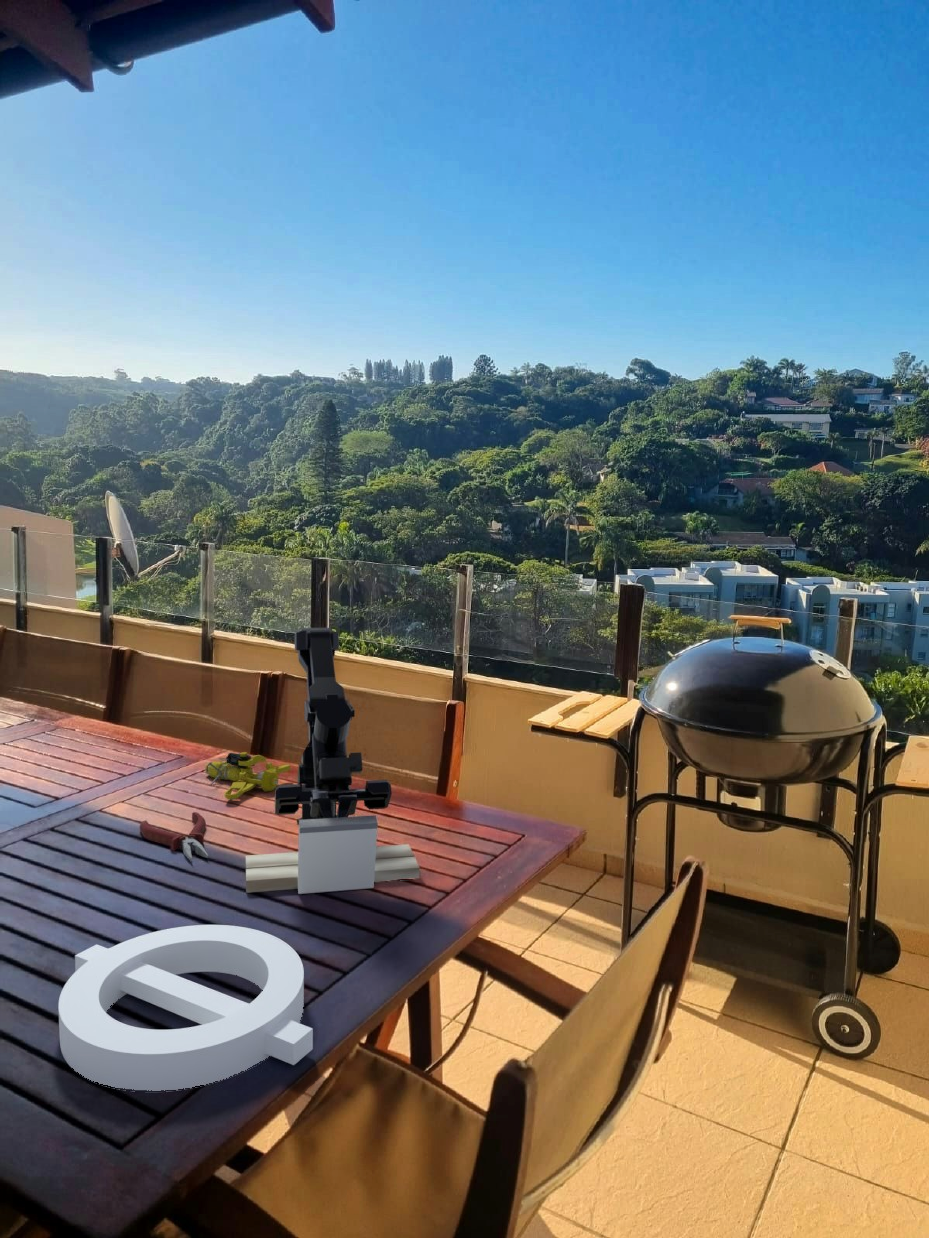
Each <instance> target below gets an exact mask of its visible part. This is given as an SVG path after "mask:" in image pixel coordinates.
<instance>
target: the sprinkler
mask: <svg viewBox="0 0 929 1238" xmlns="http://www.w3.org/2000/svg"><path fill="white" fill-rule="evenodd" d="M218 760H219V761H215V760H214V761H211V762H208V763H207V764H206V765H205V767H204V768H205V773H206V774H207V775H209V776H210V777H211V778H212V779H213V778H214V779H213V781H211V783H210V784H208V786H209V787H210V786H212V785H213V784H214V783H215V782H216V780H225V781H232V784H231V786H230V787H229V788H228V789H227V790H226V791H225V792H224V797H225V798H226V800H235V799H236V800H237V799H238V798H239V797H240V796H242V795H243V794H244V793H246V792H248V791H251V790H253V789H254V788H255V787H256V786H257V787H260V788H261V789H262V790H263V792H265V793H267V792H272V791H273V790H275V789H276V788H277V787H278V784H279V776H278V775H279V774H282V773H285V772H288V771H291V770H292V768H291V765H290V764H288V763H286V764H282V765H279V766H274V764H273V763H272V762H267V758H266V757H265V756H264V755H260V754H257V755H253V756H251V755H250V754H248V752H247V751H243V752H239V753H234V752H229V753H228V754H227V756H226V757H225V758H224V757H219V758H218ZM220 760H221V761H220ZM260 763H265V770H263V771H259V772H256V773H254V772H253V767H255V765H257V764H260ZM233 790H237V791H236V792H235V793H232V792H233Z"/></svg>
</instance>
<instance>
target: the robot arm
mask: <svg viewBox="0 0 929 1238" xmlns="http://www.w3.org/2000/svg"><path fill="white" fill-rule="evenodd" d="M339 643H340V641H339V631H334V630H332V627H300V630H299V631H297V632H295V633H294V651H295V652H297V654H298V655H297V656H298V657H297V658H298V659H297V660H298V663H299V665H300V666H301V667H302V668H303V670H304V672H305V673H306V687H307V688H306V690H307V700H305V701H304V721H305V722H306V723H308V743H307V745H306V747H305V749H304V751H303V752H302V756H301V763H298V766H297V776H296V778H297V779H296V780H297V782H296V783H297V784H295V783H294V784H293V783H292V784H279V785H277V786H276V787H275V789H274V790H275V791H274V815H278V816H280V815H281V816H283V815H284V816H285V815H294V814H296V813H297V812H298V811H299V810H300V805H301V817H299V818H297V819H296V823H297V824H299V820H307V819H323V818H340V817H350V816H353V815H355V813H356V809H357V804H358V802H361V801H363V803H364V804H363V806H364V807H365V808H367V809H368V810H383V809H384V810H385V809H387V808H388V807H389V804H390V802H391V798H392V794H393V793H392V792H393V791H392V785H391V783H390V781H388V780H387V779H376V780H373V779H372V780H366V783H365V786H364V788H353V789H352V788H351V786H352V782H353V780H352V779H353V778H352V774H361V773H362V771H363V757H362V756H363V755H362V752H350V753H349V755H348V752H347V751H348V750H347V738H348V736H349V730H350V724H351V722H352V718H355V715H356V714H355V709H354V707H353V706H352V705H351V704H350V699H346V694H345V689H344V687H343V686H342V685H341V684H340V683H339V682H337V680H336V672H335V662H334V659H335V655H336V651H339V648H340V646H339Z"/></svg>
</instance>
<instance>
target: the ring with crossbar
mask: <svg viewBox="0 0 929 1238" xmlns="http://www.w3.org/2000/svg"><path fill="white" fill-rule="evenodd" d="M74 962H75V963H74V964H75V967H74V968H75V969H74V970H75V972H73V974H72V975H71V976H70V977H69V978H68V980H66V983H65V984H64V985H63V988H62V989H61V992H60V995H59V999H58V1028H59V1029H58V1030H59V1045H60V1047H59V1048H60V1051H61V1054H62V1056H63V1058H64V1061H66V1063H67V1064H68V1066H69V1067H70V1068H71V1069H72V1068H73V1069H74V1070H73V1069H72V1070H73V1071H74V1072H76V1073H77V1072H78V1073H79V1075H80V1074H81V1075H82V1076H81V1075H80V1076H81V1077H83V1076H84V1077H83V1078H85V1079H86V1078H87V1080H88V1079H89V1080H88V1081H90V1080H91V1081H90V1082H93V1081H94V1082H93V1083H95V1082H98V1083H99V1084H98V1085H100V1084H103V1085H108V1086H111V1087H115V1088H123V1089H124V1088H125V1089H132V1090H133V1089H134V1090H147V1091H148V1090H149V1091H151V1090H152V1091H161V1090H164V1091H165V1090H176V1091H179V1090H178V1089H183V1088H184V1090H186V1089H185V1088H190V1089H193V1088H192V1087H195V1086H200V1085H204V1086H207V1085H206V1084H208V1085H210V1084H209V1083H212V1084H214V1083H213V1082H215V1081H218V1082H221V1081H223V1079H224V1080H227V1079H230V1078H231V1077H230V1076H232V1077H234V1076H233V1075H234V1074H237V1075H239V1074H238V1073H240V1072H241V1071H244V1072H246V1071H248V1070H249V1069H248V1068H250V1067H252V1066H253V1065H255V1064H257V1063H259V1062H260V1061H263V1060H264V1061H266V1060H267V1059H269V1058H270V1057H273V1058H275V1059H278V1060H280V1061H282V1062H285V1063H288V1064H290V1065H292V1066H295V1065H296V1064H297V1063H298V1062H300V1060H301V1061H302V1059H303V1058H304V1057H305V1056H306V1055H308V1054H309V1053H310V1052H311V1051H312V1050H313V1049H314V1047H313V1046H314V1040H313V1039H314V1038H313V1037H314V1031H313V1030H314V1028H312V1027H311V1026H307V1025H304V1024H302V1023H301V1021H302V1019H301V1017H302V1018H303V1015H302V1013H303V1014H304V1009H303V1007H305V1005H304V1003H305V999H304V996H305V993H304V992H305V991H304V990H305V989H304V988H305V982H304V981H305V976H304V975H305V973H304V970H305V969H304V965H303V961H302V959H301V957H300V956H299V954H298V953H297V952H296V950H295V949H294V948H293V947H292V946H290V945H289V944H288V943H287V942H285V940H284V941H283V940H282V939H280V938H279V937H277V936H275V935H273V934H270V933H267V932H265V931H262V930H258V929H253V928H250V927H245V926H244V927H243V926H240V925H239V926H236V925H227V924H197V925H186V926H185V925H184V926H178V927H171V928H167V929H165V928H164V929H160V930H157V931H153V932H152V931H151V932H149V933H146V934H141V935H139V936H136V937H133V938H130V939H128V940H127V939H126V940H125V941H123V942H120V943H117V944H116V945H114V946H111V947H109V948H107V947H105V946H102V945H99V944H97V943H96V944H94V945H93V946H91V947H88V948H87V949H85V950H83V951H81V952H78V953H77V954H75V955H74ZM200 972H201V973H203V972H204V973H205V972H209V973H220V974H221V973H222V974H229V975H233V976H236V975H237V976H236V977H240V978H243V979H245V980H247V981H250V982H251V983H253V984H254V983H255V984H254V985H256V986H257V985H258V986H259V989H261V991H260V993H259V995H258V996H256V998H254V999H253V1000H252V1001H251V1002H250V1003H249V1002H246V1001H243V1000H241V999H237V998H235V997H233V996H230V995H228V994H225V993H223V992H220V991H218V990H215V989H212V988H209V987H207V986H205V985H203V984H200V983H197V982H194V981H192V980H189V979H186V978H184V977H182V976H179V975H182V974H189V973H190V974H191V973H200ZM258 986H257V987H258ZM262 990H263V991H262ZM125 995H130V996H133V997H135V998H137V999H140V1000H142V1001H145V1002H147V1003H150V1004H152V1005H155V1006H156V1007H159V1008H161V1009H164V1010H166V1011H168V1012H171V1013H174V1014H176V1015H178V1016H180V1017H182V1018H185V1019H188V1020H190V1021H192V1022H194V1023H197V1024H199V1025H195V1026H191V1027H189V1026H188V1027H182V1028H174V1029H173V1028H172V1029H170V1028H169V1029H153V1028H152V1029H151V1028H145V1027H144V1028H143V1027H138V1026H133V1025H129V1024H126V1023H124V1022H120V1021H119V1020H116V1019H115V1018H113V1017H112V1016H110V1014H108V1013H107V1012H108V1011H109V1010H110V1009H111V1007H112V1006H113V1005H114V1004H116V1002H118V1001H119V1000H120V999H122V997H124V996H125ZM118 999H119V1000H118ZM113 1003H114V1004H113ZM111 1005H112V1006H111ZM110 1006H111V1007H110ZM108 1009H109V1010H108ZM107 1010H108V1011H107ZM300 1020H301V1021H300ZM269 1056H270V1057H269ZM268 1057H269V1058H268ZM266 1058H267V1059H266ZM265 1059H266V1060H265ZM264 1061H263V1062H264ZM259 1064H260V1063H259ZM252 1068H253V1067H252ZM247 1069H248V1070H247ZM250 1069H251V1068H250ZM245 1070H246V1071H245ZM78 1073H77V1074H78ZM240 1074H241V1073H240ZM229 1077H230V1078H229ZM226 1078H227V1079H226ZM220 1080H221V1081H220ZM215 1083H216V1082H215ZM103 1085H102V1086H103ZM200 1087H201V1086H200ZM115 1088H114V1089H115ZM195 1088H196V1087H195Z"/></svg>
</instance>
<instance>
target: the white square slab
mask: <svg viewBox="0 0 929 1238" xmlns="http://www.w3.org/2000/svg"><path fill="white" fill-rule="evenodd" d="M378 824H379V823H378V818H377V815H375V814H374V815H373V814H372V815H361V816H348V817H340V818H323V819H307V820H299V823H298V846H297V847H298V849H297V852H298V889H297V891H298V892H297V893H298V895H302V894H315V893H326V892H327V893H328V892H339V891H352V890H362V889H363V890H364V889H374V888H375V887H374V886H375V883H374V874H375V858H376V846H377V841H378Z"/></svg>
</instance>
